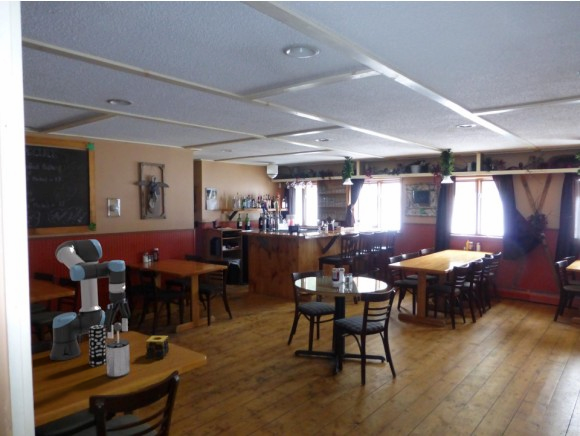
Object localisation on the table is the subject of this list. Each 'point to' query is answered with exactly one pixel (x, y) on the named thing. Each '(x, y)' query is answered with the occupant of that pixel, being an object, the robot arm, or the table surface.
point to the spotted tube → (97, 345)
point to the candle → (157, 347)
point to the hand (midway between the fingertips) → (117, 334)
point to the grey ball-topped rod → (117, 329)
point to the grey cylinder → (118, 358)
